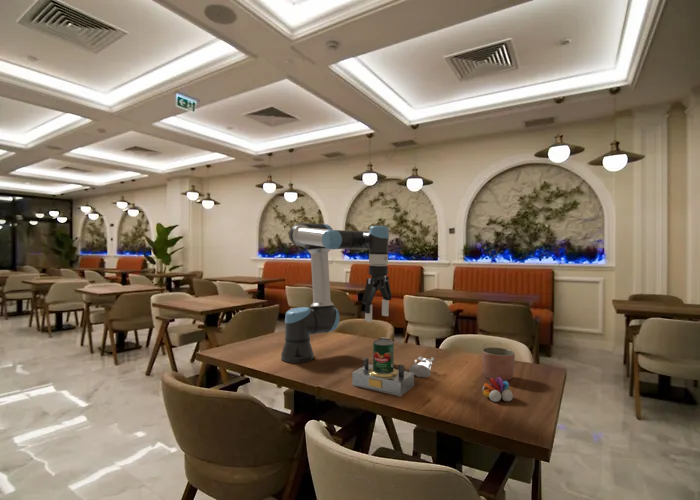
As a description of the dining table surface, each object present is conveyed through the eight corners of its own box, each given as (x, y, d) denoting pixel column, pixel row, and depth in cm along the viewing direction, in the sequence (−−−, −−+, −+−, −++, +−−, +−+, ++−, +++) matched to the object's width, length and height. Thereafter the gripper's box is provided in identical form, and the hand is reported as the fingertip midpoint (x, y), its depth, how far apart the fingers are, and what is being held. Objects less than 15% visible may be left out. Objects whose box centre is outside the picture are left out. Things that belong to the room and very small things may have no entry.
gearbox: (351, 385, 141) (351, 361, 141) (368, 376, 151) (368, 354, 151) (399, 397, 130) (400, 371, 130) (413, 386, 141) (414, 362, 141)
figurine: (406, 365, 152) (417, 353, 162) (408, 379, 153) (418, 367, 163) (427, 367, 147) (437, 355, 157) (429, 382, 148) (439, 369, 158)
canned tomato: (375, 374, 137) (375, 344, 137) (370, 367, 144) (370, 339, 144) (396, 373, 138) (396, 344, 138) (390, 367, 146) (390, 338, 146)
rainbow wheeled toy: (478, 394, 134) (478, 373, 134) (504, 393, 135) (504, 373, 135) (489, 403, 125) (489, 382, 125) (517, 402, 126) (517, 381, 126)
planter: (475, 375, 154) (475, 348, 154) (498, 371, 158) (498, 346, 158) (497, 385, 142) (497, 356, 142) (521, 381, 147) (521, 353, 147)
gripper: (370, 267, 134) (369, 325, 135) (400, 264, 155) (399, 314, 156) (353, 266, 138) (352, 322, 139) (384, 263, 159) (383, 312, 160)
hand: (377, 318), depth 147 cm, fingers open, 13 cm apart
